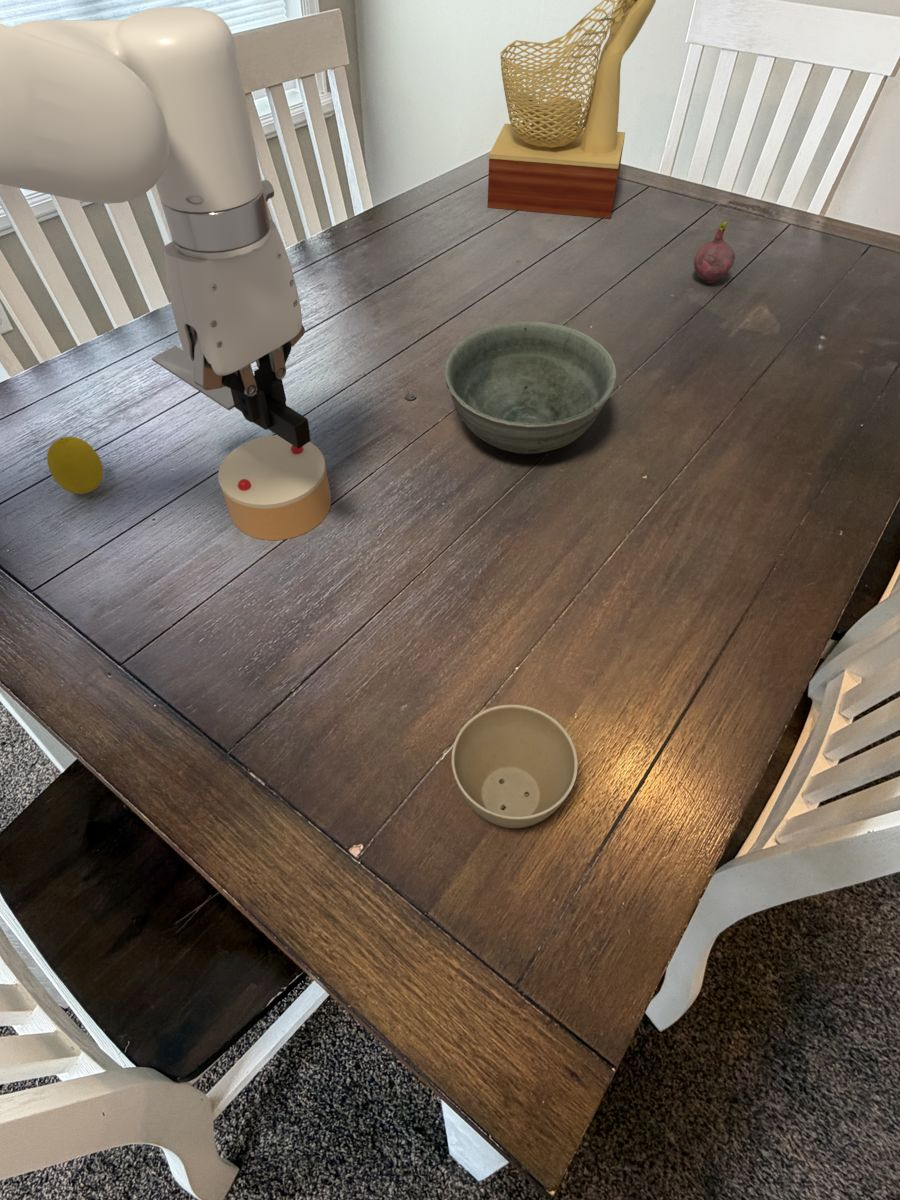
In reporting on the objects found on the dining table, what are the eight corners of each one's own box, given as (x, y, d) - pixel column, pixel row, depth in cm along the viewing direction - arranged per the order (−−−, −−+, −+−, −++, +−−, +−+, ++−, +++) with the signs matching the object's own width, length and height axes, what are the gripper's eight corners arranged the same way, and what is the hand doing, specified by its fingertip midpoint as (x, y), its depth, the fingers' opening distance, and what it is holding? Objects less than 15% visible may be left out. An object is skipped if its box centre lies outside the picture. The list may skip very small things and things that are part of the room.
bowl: (626, 412, 98) (641, 345, 90) (567, 508, 86) (577, 440, 79) (488, 371, 104) (490, 305, 97) (415, 455, 93) (411, 388, 85)
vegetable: (683, 286, 119) (699, 223, 112) (696, 270, 123) (712, 208, 115) (719, 296, 117) (738, 232, 110) (731, 280, 121) (750, 217, 113)
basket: (626, 184, 145) (664, -48, 118) (618, 223, 134) (659, -23, 107) (502, 173, 149) (513, -54, 122) (485, 211, 138) (493, -30, 111)
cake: (208, 510, 87) (193, 467, 82) (283, 458, 92) (273, 416, 87) (278, 556, 82) (266, 514, 77) (352, 498, 88) (345, 456, 83)
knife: (292, 453, 67) (289, 430, 65) (152, 360, 75) (144, 337, 73) (316, 437, 69) (313, 415, 67) (176, 348, 76) (169, 325, 74)
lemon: (56, 504, 87) (26, 451, 81) (79, 474, 91) (51, 421, 85) (99, 509, 87) (72, 456, 81) (120, 479, 90) (95, 426, 84)
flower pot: (510, 725, 68) (515, 683, 62) (591, 801, 63) (604, 763, 58) (428, 791, 64) (425, 752, 58) (507, 878, 59) (513, 845, 53)
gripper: (263, 173, 61) (300, 367, 75) (101, 240, 53) (176, 442, 68) (326, 197, 58) (352, 395, 72) (163, 271, 50) (228, 476, 64)
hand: (266, 416), depth 70 cm, fingers closed on knife, 1 cm apart
